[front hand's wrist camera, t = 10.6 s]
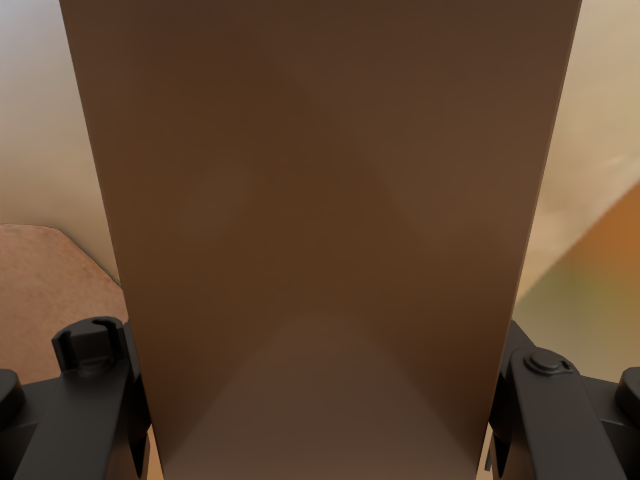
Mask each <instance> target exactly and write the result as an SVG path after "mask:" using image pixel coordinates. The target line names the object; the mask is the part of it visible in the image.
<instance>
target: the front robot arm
mask: <svg viewBox="0 0 640 480" xmlns="http://www.w3.org/2000/svg"><path fill="white" fill-rule="evenodd" d="M51 342H52V345H53V348H54V351H55V355H56V358H57V361H58V364H59V367H60V370H61V374H60V376H59V377H57V378H53V379H48V380H44V381H39V382H34V383H29V384H24V385H21V382H20V380H19V377H18V374H17V373H16V372H14V371H13V370H11V369H1V368H0V480H147V473H148V463H149V454H150V442H149V437H148V432H147V431H148V429H149V427H150V425H151V418H150V414H149V409H148V405H147V400H146V396H145V391H144V386H143V382H142V377H141V373H140V368H139V364H138V359H137V354H136V350H135V345H134V341H133V336H132V331H131V327H130V322H129V319H128V322H125V324H124V325H123V323H122V321H120V320H119V319H118V318H115V317H110V316H98V317H91V318H87V319H83V320H80V321H77V322H75V323H73V324H70V325H68V326H66V327H65V328H63V329H62V330H60V331H59V332H57V333H56V334H55V336H54V337H53V338H52V339H51ZM488 422H489V424H490V425H491V427H492V429H493V432H492V437H491V441H490V446H489V450H488V454H487V459H486V463H485V470H486V471H490V467H491V463H492V471H493V480H640V367H632V368H628V369H627V370H625V371H624V372H623V374H622V376H621V379H620V382H619V383H614V382H609V381H604V380H600V379H595V378H590V377H586V376H582V375H580V373H579V372H578V370H577V369H576V367H575V366H574V365H573V364H572V363H571V362H570V361H568V360H567V359H566V358H564V357H563V356H561V355H559V354H557V353H555V352H552V351H550V350H547V349H543V348H540V347H536V346H535V345H534V344H533V342H532V341H531V340H530V339H529V338H528V336H527V335H526V334H525V333H524V332H523V331H522V329H521V328H520V327H519V326H518V325H517V323H516V322H515V321H513V320H512V318H511V322H510V327H509V331H508V336H507V340H506V345H505V349H504V354H503V358H502V363H501V367H500V372H499V376H498V381H497V385H496V390H495V394H494V399H493V403H492V408H491V412H490V417H489V421H488Z"/></svg>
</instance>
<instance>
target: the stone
mask: <svg viewBox="0 0 640 480" xmlns="http://www.w3.org/2000/svg"><path fill="white" fill-rule="evenodd" d="M98 316H110V317H115V318H118V319H119V320H120V321H122V323H123V325H124V324H125V322H128V319H129V318H128V313H127V309H126V304H125V299H124V295H123V290H122V289H121V288H120V287H119V286H118V285H117V284H116V283H115V282H114V281H113V280H112V279H111V278H110V277H109V276H108V275H107V274H106V273H105V272H104V271H103V270H102V269H101V268H100V267H99V266H98V265H97V264H96V263H95V262H94V261H93V260H92V259H91V258H90V257H89V256H87V255H86V254H85V253H84V252H83V251H82V250H81V249H80V248H79V247H78V246H76V245H75V244H74V243H73V242H72V240H71V239H69V238H68V237H67V236H66V235H64V234H63V233H62V232H61V231H59V230H58V229H53V228H49V227H45V226H36V225H20V224H1V225H0V368H1V369H11V370H13V371H14V372H16V373H17V374H18V377H19V380H20V382H21V385H24V384H29V383H34V382H39V381H44V380H48V379H53V378H57V377H59V376H60V374H61V370H60V367H59V364H58V361H57V358H56V355H55V351H54V348H53V345H52V342H51V339H52V338H53V337H54V336H55V334H56V333H57V332H59V331H60V330H62V329H63V328H65V327H66V326H68V325H70V324H73V323H75V322H77V321H80V320H83V319H87V318H91V317H98Z"/></svg>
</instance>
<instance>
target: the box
mask: <svg viewBox="0 0 640 480" xmlns="http://www.w3.org/2000/svg"><path fill="white" fill-rule="evenodd" d="M59 2H60V7H61V11H62V16H63V21H64V25H65V30H66V34H67V39H68V43H69V48H70V53H71V57H72V62H73V66H74V71H75V75H76V80H77V85H78V89H79V94H80V98H81V103H82V107H83V112H84V117H85V121H86V126H87V130H88V135H89V139H90V144H91V149H92V153H93V158H94V162H95V167H96V171H97V176H98V181H99V185H100V190H101V194H102V199H103V203H104V208H105V213H106V217H107V222H108V226H109V231H110V235H111V240H112V245H113V249H114V254H115V258H116V263H117V267H118V272H119V277H120V281H121V286H122V290H123V295H124V299H125V304H126V309H127V313H128V318H129V322H130V327H131V331H132V336H133V341H134V345H135V350H136V354H137V359H138V364H139V368H140V373H141V377H142V382H143V386H144V391H145V396H146V400H147V405H148V409H149V414H150V418H151V423H152V428H153V432H154V437H155V441H156V446H157V450H158V455H159V460H160V464H161V469H162V473H163V478H164V480H475V479H476V475H477V471H478V466H479V462H480V457H481V453H482V448H483V444H484V439H485V435H486V430H487V426H488V421H489V417H490V412H491V408H492V403H493V399H494V394H495V390H496V385H497V381H498V376H499V372H500V367H501V363H502V358H503V354H504V349H505V345H506V340H507V336H508V331H509V327H510V322H511V318H512V313H513V309H514V304H515V300H516V295H517V291H518V286H519V282H520V277H521V273H522V268H523V264H524V259H525V255H526V250H527V246H528V241H529V237H530V232H531V228H532V223H533V219H534V214H535V210H536V205H537V201H538V196H539V192H540V187H541V183H542V178H543V174H544V169H545V165H546V160H547V156H548V151H549V147H550V142H551V138H552V133H553V129H554V124H555V120H556V115H557V111H558V106H559V102H560V98H561V93H562V89H563V84H564V80H565V75H566V71H567V66H568V62H569V57H570V53H571V48H572V44H573V39H574V35H575V30H576V26H577V21H578V17H579V12H580V8H581V3H582V0H59Z"/></svg>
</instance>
